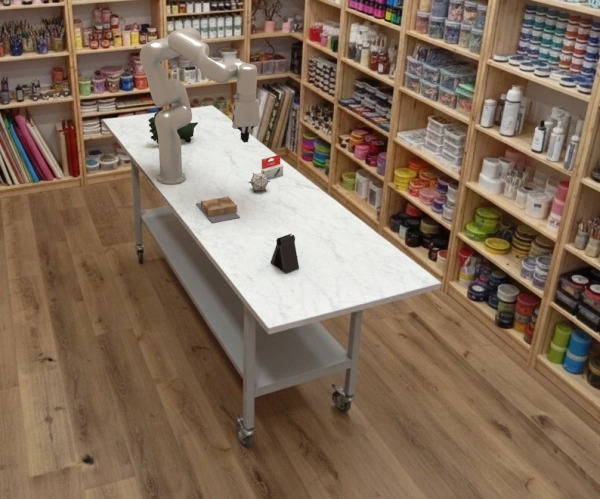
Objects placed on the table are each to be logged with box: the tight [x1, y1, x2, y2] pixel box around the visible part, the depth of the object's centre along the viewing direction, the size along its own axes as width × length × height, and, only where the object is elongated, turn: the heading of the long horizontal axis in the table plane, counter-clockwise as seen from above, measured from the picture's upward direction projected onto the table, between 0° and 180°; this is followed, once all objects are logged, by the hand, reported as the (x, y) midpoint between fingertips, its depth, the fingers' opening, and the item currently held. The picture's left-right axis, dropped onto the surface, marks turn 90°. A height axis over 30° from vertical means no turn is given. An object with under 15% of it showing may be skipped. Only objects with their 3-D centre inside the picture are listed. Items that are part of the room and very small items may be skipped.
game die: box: [248, 172, 271, 193], centre depth 302 cm, size 9×8×10 cm
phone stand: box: [270, 233, 300, 274], centre depth 247 cm, size 9×6×12 cm, turn 39°
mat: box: [195, 202, 241, 224], centre depth 284 cm, size 18×12×1 cm, turn 28°
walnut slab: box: [200, 196, 238, 217], centre depth 284 cm, size 9×3×12 cm
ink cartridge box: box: [261, 154, 284, 181], centre depth 313 cm, size 2×11×10 cm, turn 131°
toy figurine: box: [147, 110, 199, 145], centre depth 341 cm, size 9×19×25 cm
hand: (244, 141), depth 280 cm, fingers closed
